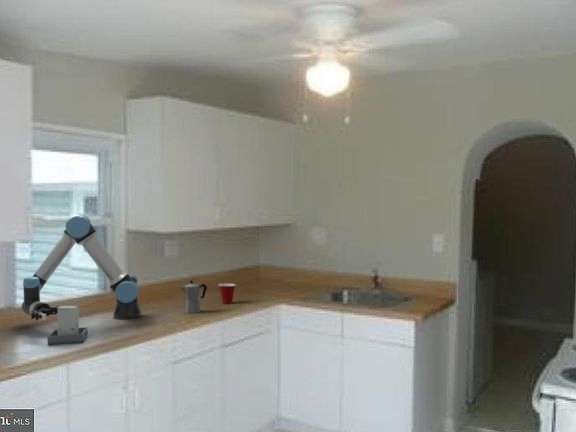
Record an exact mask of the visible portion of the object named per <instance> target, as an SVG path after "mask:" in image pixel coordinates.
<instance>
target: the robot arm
mask: <svg viewBox="0 0 576 432" xmlns="http://www.w3.org/2000/svg"><path fill="white" fill-rule="evenodd" d="M97 232H98V231H97V230H96V228H95V226H93V225H92V223H91V220H90V219H89V217H88V216H86V215H83V214H73V215H72V216H70V217H69V218H68V220H67V221H66V223H65V229H64V230H63V233H62V234H63V235H62V236H61V237H60V239H59V241H58V242H57V243H56V244H55V246H54V247H53V248H52V250H51V251H50V252H49V254H48V255H47V257H46V258H45V259H44V261H43V262H42V263H41V265H40V266H38V268H37V269H36V271H35V272H34V273H33V275H32V276H28V277H25V278H23V283H22V286H23V302H22V303H21V307H20V309H21V311H22V312H23V314H26V315H28V316H31V318H30V319H31V320H34V319H35V321H39V320H43V321H47V318H48V317H49V316H51V315H57V312H58V307H59V305H58V306H55V307H53V306H50V304H49V303H47V302H42V301H41V296H40V294H41V293H40V292H41V291H42V289H43V288H44V286H45V284H46V283H47V282H48V280H49V279H50V278H51V277H52V275H53V274H54V273H55V271H56V270H57V268H59V266H60V265H61V263H62V262H63V260H64V259H65V258H66V257H67V255H68V254H69V253H70V252H71V250H72V248H73V247H74V246H75V245H79V246H82V247H83V249H84V250H85V251H86V252H87V254H88V256H90V259H92V261H93V262H94V263H95V264H96V267H98V269H99V270H100V271H101V273H102V274H103V275H104V277H105V278H106V280H107V281H108V282H109V283H108V288H110V289H111V291H112V292H113V294H114V295H115V307H114V310H113V314H112V315H113V316H112V317H113V318H114V319H117V320H131V319H136V318H137V319H138V318H139V317H142V310H141V307H140V304H139V299H138V295H139V288H138V277H137V275H134V274H133V275H131V274H130V275H129V273H128V272H124V271H123V270H122V268H120V266H119V265H118V263H117V262H116V261H115V260H114V257H113V256H112V255H111V254H110V252H109V251H108V250H107V249H106V247H105V246H104V244H103V243H102V242H101V240H100V239H99V238H98V235H97V234H98V233H97Z"/></svg>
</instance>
